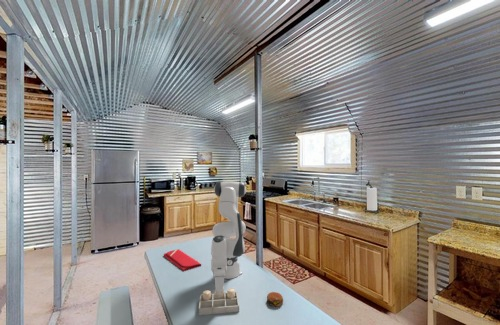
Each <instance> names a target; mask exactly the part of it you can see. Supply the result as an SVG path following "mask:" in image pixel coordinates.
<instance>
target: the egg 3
mask: <svg viewBox="0 0 500 325" xmlns="http://www.w3.org/2000/svg"><path fill="white" fill-rule="evenodd" d="M235 292H236V289H234V288H228V289H227V290H226V293H227V299H234V298H235Z"/></svg>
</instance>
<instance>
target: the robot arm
mask: <svg viewBox="0 0 500 325" xmlns="http://www.w3.org/2000/svg"><path fill="white" fill-rule="evenodd" d="M213 191H214V195H215V196H216V197H219V201H218V212H219V214H220V215H221V217H223V218H225V219H227V220H228V221H223V222H218V223H216V224H214V225H213V227H212V235H213V236H214V237H212V239H211V240H212V241H211V248H210V250H211V251H210V254H211V260H210V261H211V262H210V265H211V266H210V267H211V268H210V269H211V272H212V275H213V277H214V287H216V291H218V295H221V291H223V287H224V286H225V279H235V278H237V277H239V276H241V275H242V274H243V272H242V270H241V267H240V266H241V265H240V262H239V261H238V259H239V258H238V257H241V256H242V255H243V254H245V251H246V246H245V242H244V241H245V240H244V234H245V233H246V229H247V228H246V227H247V226H246V224H245V222H244V221H243V220H242V216H241V212H239V199H240V198H243V197H244V196H245V194H246V192H247V187H246V184H245V183H244V182H241V181H240V182H239V181H234V180H232V181H231V180H230V181H216V182H215V184H214V187H213ZM232 237H235V238H232ZM224 288H225V287H224Z"/></svg>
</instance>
